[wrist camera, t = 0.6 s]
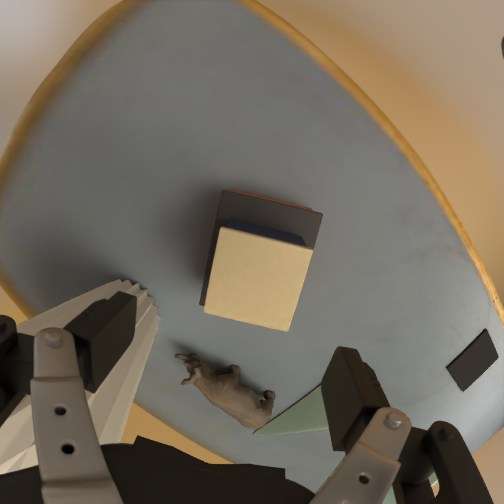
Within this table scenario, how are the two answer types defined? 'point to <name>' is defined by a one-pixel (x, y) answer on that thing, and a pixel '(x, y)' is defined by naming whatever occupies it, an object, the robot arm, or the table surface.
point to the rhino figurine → (228, 392)
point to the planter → (299, 417)
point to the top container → (257, 275)
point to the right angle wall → (390, 500)
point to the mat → (473, 361)
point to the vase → (100, 404)
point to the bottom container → (261, 221)
